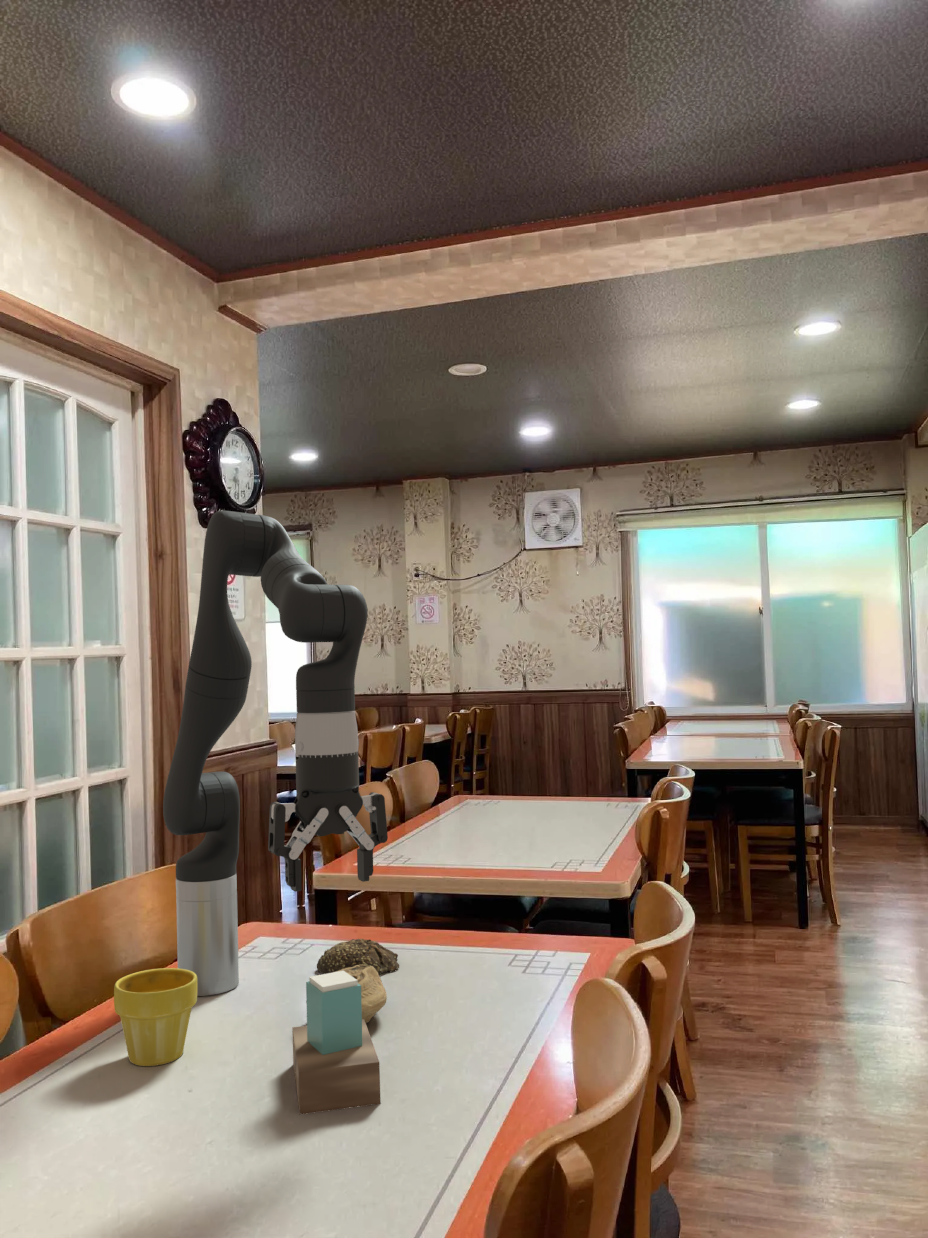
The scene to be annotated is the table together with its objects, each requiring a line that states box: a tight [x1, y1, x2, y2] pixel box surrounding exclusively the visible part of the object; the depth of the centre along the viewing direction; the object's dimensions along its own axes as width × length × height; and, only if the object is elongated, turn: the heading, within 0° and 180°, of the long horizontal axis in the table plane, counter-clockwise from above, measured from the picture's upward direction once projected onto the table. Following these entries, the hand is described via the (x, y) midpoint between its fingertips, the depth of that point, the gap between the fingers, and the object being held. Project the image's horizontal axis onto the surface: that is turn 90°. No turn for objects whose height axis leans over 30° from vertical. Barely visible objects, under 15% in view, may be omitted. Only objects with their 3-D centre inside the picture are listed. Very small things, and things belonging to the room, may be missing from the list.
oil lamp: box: [305, 965, 388, 1024], centre depth 138 cm, size 11×15×8 cm
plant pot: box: [113, 967, 198, 1067], centre depth 126 cm, size 10×10×10 cm
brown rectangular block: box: [291, 1019, 382, 1115], centre depth 116 cm, size 14×9×5 cm, turn 13°
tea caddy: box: [305, 971, 362, 1055], centre depth 117 cm, size 5×5×8 cm
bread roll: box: [316, 938, 400, 975], centre depth 161 cm, size 13×12×5 cm
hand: (330, 885), depth 117 cm, fingers open, 8 cm apart
